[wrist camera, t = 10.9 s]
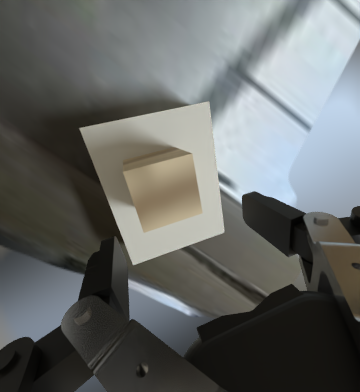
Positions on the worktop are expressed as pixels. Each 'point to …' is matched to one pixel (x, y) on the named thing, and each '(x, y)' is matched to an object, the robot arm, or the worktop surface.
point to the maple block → (163, 187)
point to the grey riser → (148, 143)
